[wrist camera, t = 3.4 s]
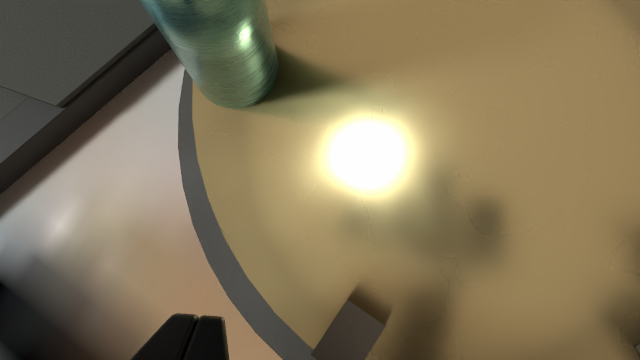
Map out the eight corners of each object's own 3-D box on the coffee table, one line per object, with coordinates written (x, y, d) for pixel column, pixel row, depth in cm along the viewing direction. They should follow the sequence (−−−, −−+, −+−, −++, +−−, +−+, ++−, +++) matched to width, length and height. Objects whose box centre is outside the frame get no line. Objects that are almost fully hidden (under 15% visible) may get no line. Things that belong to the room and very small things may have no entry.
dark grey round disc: (516, 542, 15) (556, 597, 13) (77, 164, 17) (34, 145, 15) (816, 105, 17) (902, 76, 15) (398, -186, 19) (409, -256, 17)
